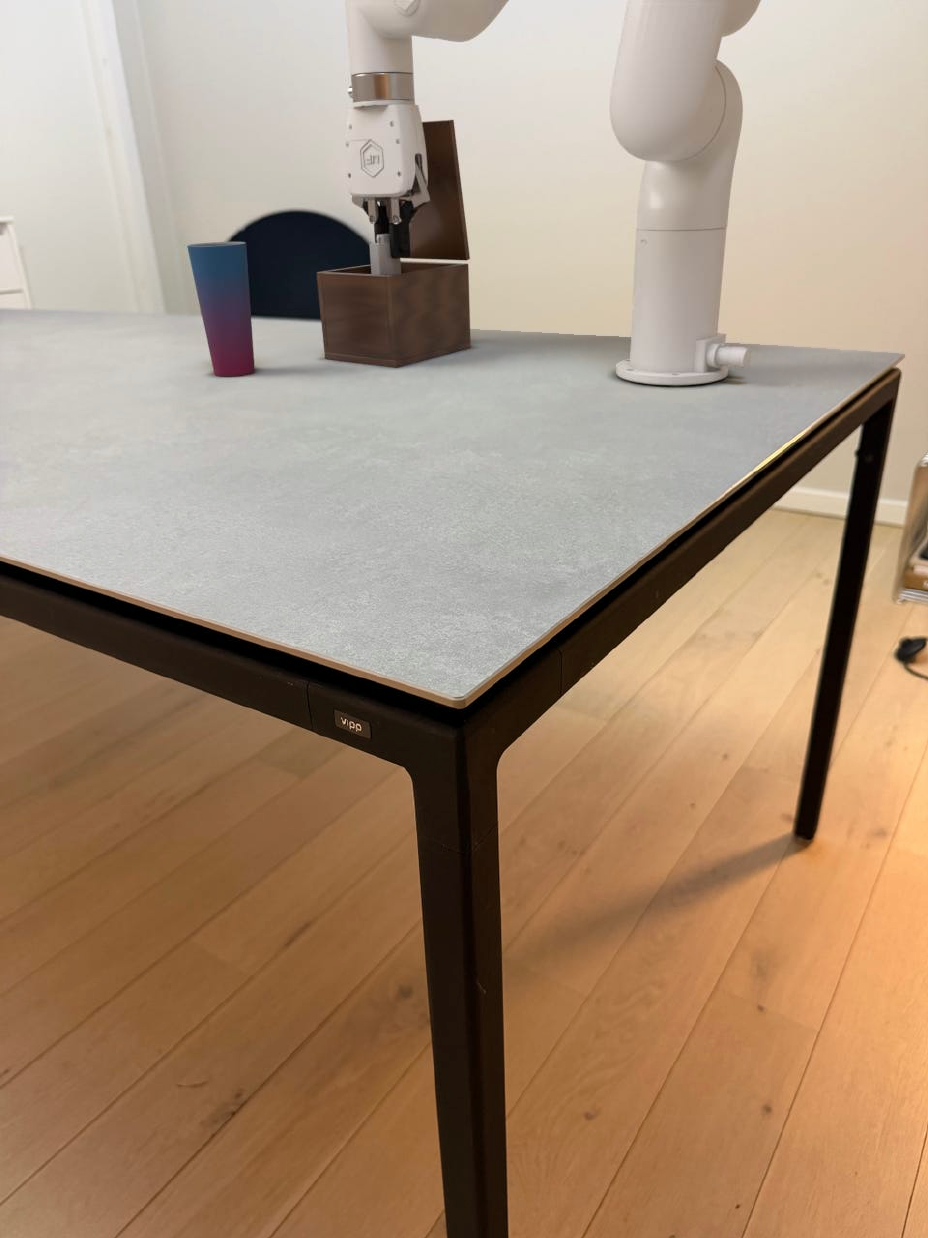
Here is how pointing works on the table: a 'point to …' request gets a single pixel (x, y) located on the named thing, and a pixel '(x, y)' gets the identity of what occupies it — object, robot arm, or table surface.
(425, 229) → the lid
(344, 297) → the brown wooden box
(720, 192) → the robot arm
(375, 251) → the lighter
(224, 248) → the cup
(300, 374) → the table surface
